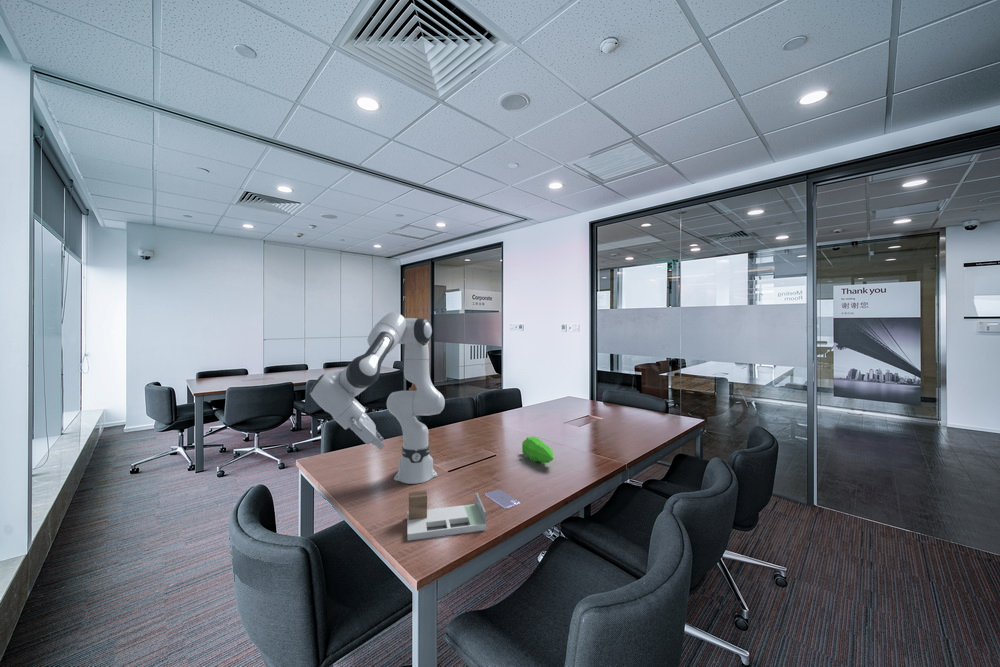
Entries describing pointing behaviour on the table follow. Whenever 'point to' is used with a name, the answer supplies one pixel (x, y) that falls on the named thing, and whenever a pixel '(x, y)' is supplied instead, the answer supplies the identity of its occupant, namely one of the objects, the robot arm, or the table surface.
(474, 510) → the track
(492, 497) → the mobile phone
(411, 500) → the walnut block
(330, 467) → the table surface
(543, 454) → the green faceted blob
